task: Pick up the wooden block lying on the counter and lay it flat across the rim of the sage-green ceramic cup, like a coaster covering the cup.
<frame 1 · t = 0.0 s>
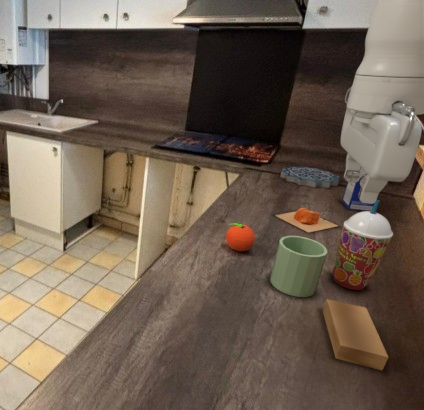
hand: (357, 190, 55), 28 cm above the table, tool pointing down, fingers open, 8 cm apart
salmon on cutting board: (305, 221, 109), on the table
milk carton: (356, 207, 119), on the table
clementine: (235, 249, 94), on the table
smoothie: (348, 283, 80), on the table
decorative tile: (308, 179, 144), on the table
cup: (292, 284, 80), on the table
wooden block: (349, 337, 65), on the table
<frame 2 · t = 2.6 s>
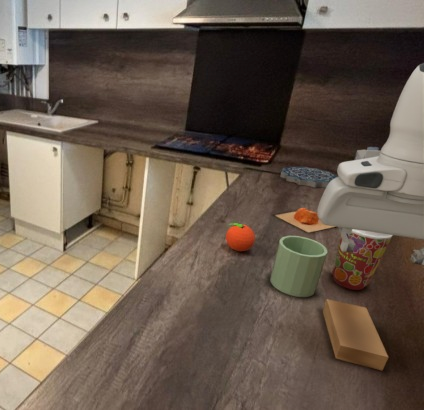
hand: (380, 256, 58), 17 cm above the table, tool pointing down, fingers open, 8 cm apart
nothing on the table moved.
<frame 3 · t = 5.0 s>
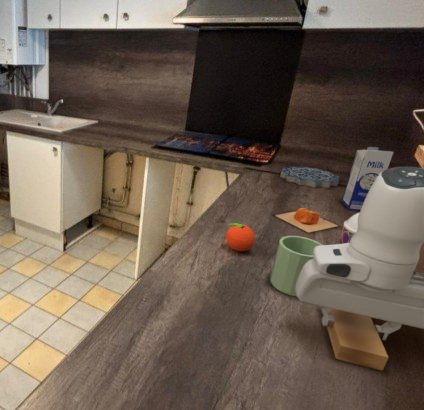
hand: (351, 330, 64), 2 cm above the table, tool pointing down, fingers closed on wooden block, 6 cm apart
wooden block: (349, 338, 65), on the table, touching gripper
everything else where it was.
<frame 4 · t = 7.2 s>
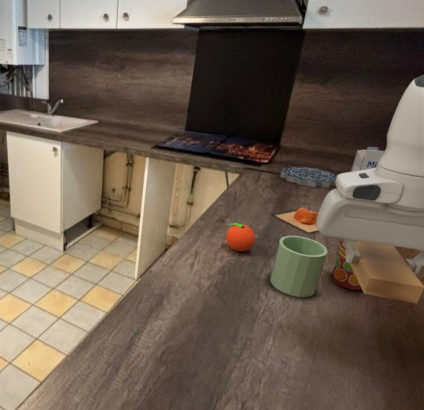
hand: (379, 266, 59), 15 cm above the table, tool pointing down, fingers closed on wooden block, 6 cm apart
wooden block: (376, 275, 59), point 14 cm above the table, touching gripper
everything else where it was.
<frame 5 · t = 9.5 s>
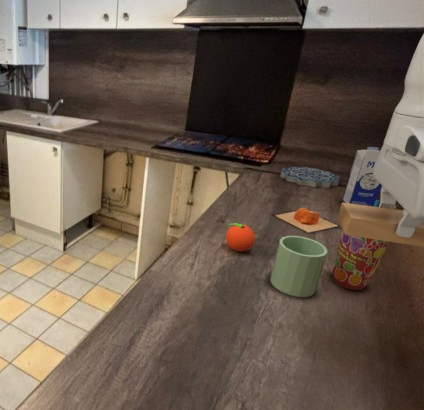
hand: (392, 224, 56), 23 cm above the table, tool pointing down, fingers closed on wooden block, 6 cm apart
wooden block: (389, 233, 56), point 21 cm above the table, touching gripper
everything else where it was.
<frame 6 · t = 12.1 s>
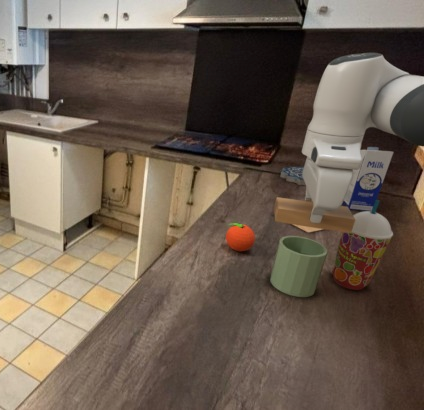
hand: (311, 213, 73), 17 cm above the table, tool pointing down, fingers closed on wooden block, 6 cm apart
wooden block: (309, 220, 73), point 16 cm above the table, touching gripper
everything else where it was.
when the fingers open (12 cm above the table, at t = 14.1 s): wooden block stays where it is, resting on cup.
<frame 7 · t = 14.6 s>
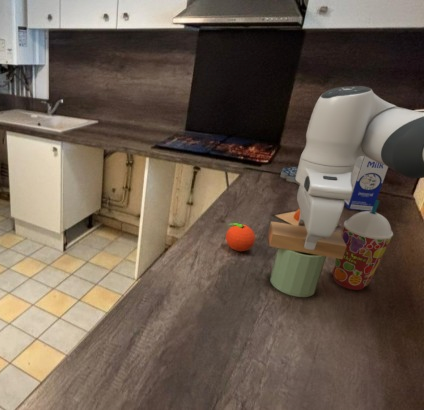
hand: (305, 237, 75), 12 cm above the table, tool pointing down, fingers open, 8 cm apart
cup: (292, 284, 80), on the table, touching wooden block
wooden block: (302, 245, 76), point 10 cm above the table, touching cup
everything else where it was.
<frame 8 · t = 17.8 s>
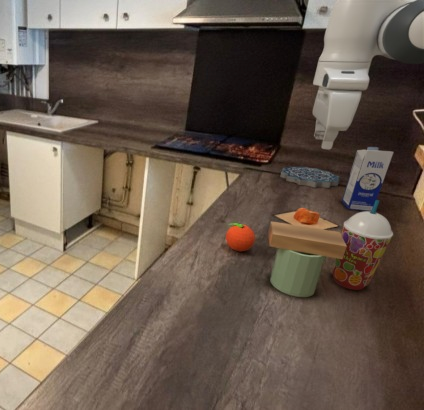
hand: (321, 143, 79), 29 cm above the table, tool pointing down, fingers open, 8 cm apart
nothing on the table moved.
at the end: wooden block 0.1 cm off-centre on the cup, point 10.0 cm above the cup's base; wooden block tilted 0°; cup tilted 0° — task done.
